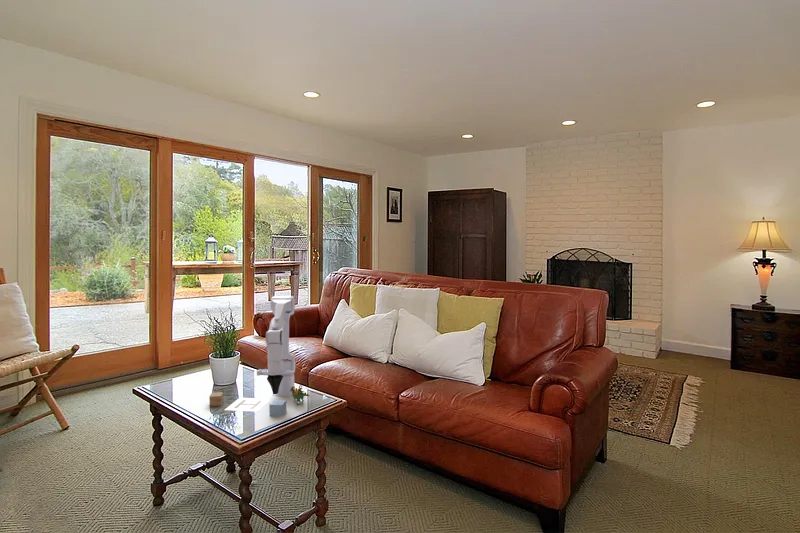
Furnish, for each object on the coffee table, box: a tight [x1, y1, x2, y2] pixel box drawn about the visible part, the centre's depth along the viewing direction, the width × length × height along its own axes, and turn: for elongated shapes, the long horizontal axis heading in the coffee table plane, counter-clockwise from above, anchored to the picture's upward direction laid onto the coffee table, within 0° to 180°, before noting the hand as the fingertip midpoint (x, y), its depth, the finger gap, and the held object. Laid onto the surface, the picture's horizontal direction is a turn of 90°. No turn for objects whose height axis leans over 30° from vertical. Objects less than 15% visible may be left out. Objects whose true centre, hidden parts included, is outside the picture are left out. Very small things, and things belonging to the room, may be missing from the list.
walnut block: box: [208, 391, 224, 407], centre depth 187 cm, size 4×4×4 cm
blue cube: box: [269, 399, 287, 417], centre depth 176 cm, size 5×5×5 cm
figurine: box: [289, 384, 311, 406], centre depth 188 cm, size 3×12×8 cm, turn 55°
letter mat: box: [224, 397, 271, 413], centre depth 186 cm, size 14×14×1 cm
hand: (275, 393), depth 176 cm, fingers closed
